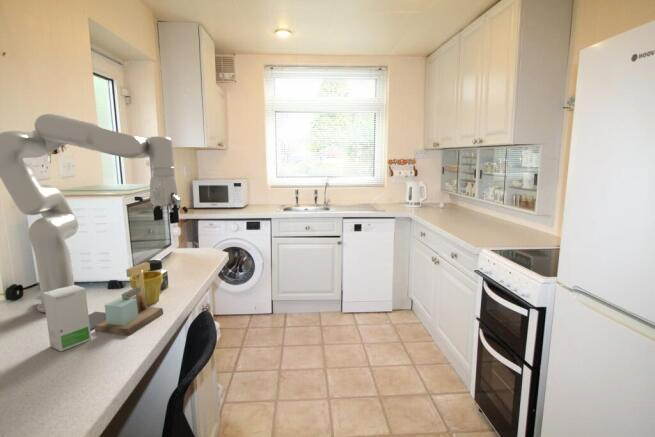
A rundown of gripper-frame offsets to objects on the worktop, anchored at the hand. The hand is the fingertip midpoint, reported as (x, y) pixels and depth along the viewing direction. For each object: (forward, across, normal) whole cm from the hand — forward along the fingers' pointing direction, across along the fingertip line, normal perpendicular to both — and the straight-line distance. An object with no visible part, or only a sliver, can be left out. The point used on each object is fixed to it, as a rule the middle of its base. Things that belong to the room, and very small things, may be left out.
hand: (166, 221), depth 131 cm
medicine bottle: (+29, -12, +1) cm, 31 cm away
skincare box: (+29, +6, -35) cm, 46 cm away
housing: (+28, +7, -19) cm, 35 cm away
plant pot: (+29, -4, -7) cm, 30 cm away
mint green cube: (+26, +8, -22) cm, 35 cm away
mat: (+29, -3, -26) cm, 39 cm away
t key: (+26, +6, -16) cm, 31 cm away
